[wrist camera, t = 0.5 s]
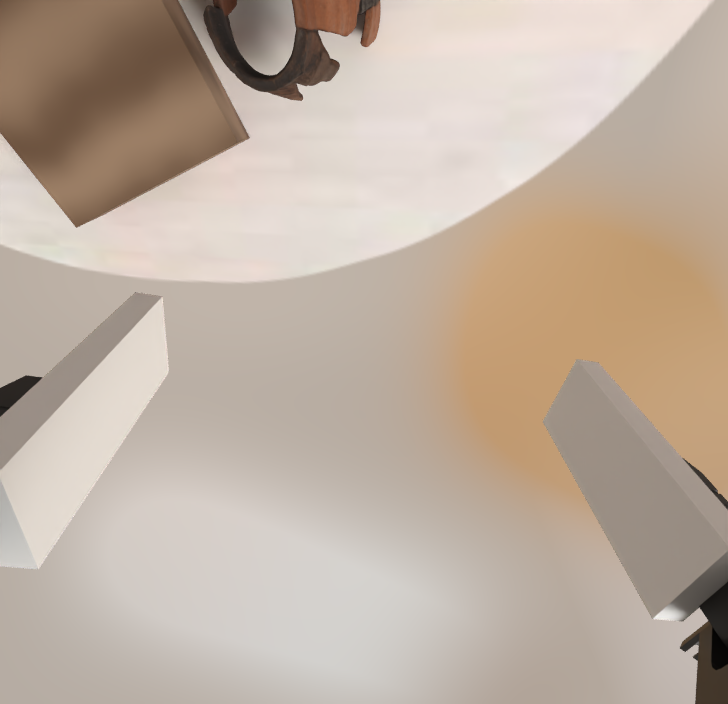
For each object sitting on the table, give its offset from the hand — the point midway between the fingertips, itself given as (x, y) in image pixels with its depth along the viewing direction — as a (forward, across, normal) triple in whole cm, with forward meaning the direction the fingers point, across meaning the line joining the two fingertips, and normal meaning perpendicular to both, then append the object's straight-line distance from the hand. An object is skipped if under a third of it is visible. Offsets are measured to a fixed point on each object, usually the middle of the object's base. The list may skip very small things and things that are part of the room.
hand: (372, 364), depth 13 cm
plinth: (+24, -18, +4) cm, 30 cm away
